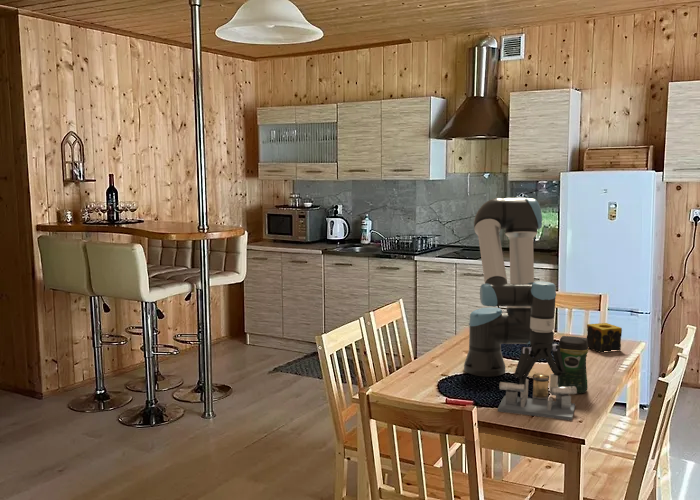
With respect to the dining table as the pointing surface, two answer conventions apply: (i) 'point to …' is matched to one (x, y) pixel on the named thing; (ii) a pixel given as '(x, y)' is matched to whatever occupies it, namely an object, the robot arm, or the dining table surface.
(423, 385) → the dining table surface
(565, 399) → the shaft right
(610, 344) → the candle
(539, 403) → the grey mounting plate
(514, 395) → the shaft left
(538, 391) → the cylinder
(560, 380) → the coffee jar
